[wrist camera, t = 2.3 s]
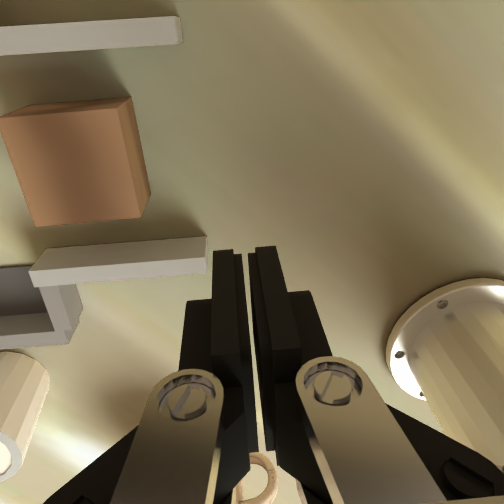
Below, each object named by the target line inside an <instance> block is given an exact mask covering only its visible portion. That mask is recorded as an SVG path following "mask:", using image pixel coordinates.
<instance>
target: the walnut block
mask: <svg viewBox="0 0 504 504" xmlns="http://www.w3.org/2000/svg"><path fill="white" fill-rule="evenodd" d="M0 131H1V134H2V136H3V139H4V142H5V145H6V148H7V150H8V153H9V156H10V159H11V161H12V164H13V167H14V170H15V172H16V175H17V178H18V181H19V183H20V186H21V189H22V192H23V195H24V197H25V200H26V203H27V206H28V208H29V211H30V214H31V217H32V219H33V222H34V225H35V227H40V226H52V225H63V224H74V223H85V222H96V221H107V220H118V219H130V218H141V216H142V214H143V211H144V209H145V207H146V204H147V202H148V200H149V197H150V195H151V191H150V186H149V181H148V176H147V171H146V166H145V161H144V156H143V151H142V147H141V142H140V137H139V132H138V127H137V122H136V117H135V112H134V107H133V102H132V97H123V98H111V99H99V100H87V101H75V102H63V103H51V104H39V105H28V106H25V107H23V108H20V109H18V110H15V111H13V112H10V113H8V114H5V115H3V116H0Z"/></svg>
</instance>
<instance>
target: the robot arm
mask: <svg viewBox="0 0 504 504" xmlns="http://www.w3.org/2000/svg"><path fill="white" fill-rule="evenodd" d="M248 263H249V277H250V292H251V307H252V321H253V335H254V346H255V355H256V364H257V373H258V381H259V390H260V399H261V408H262V417H263V426H264V435H265V444H266V451H274V450H275V452H276V459H277V466H280V467H281V468H282V469H283V470H285V471H286V472H287V473H289V474H290V475H291V476H293V477H294V478H295V479H296V484H297V490H298V493H299V496H300V499H301V502H302V504H504V281H502V280H499V279H490V278H476V279H467V280H462V281H458V282H454V283H451V284H448V285H446V286H443V287H441V288H438V289H436V290H434V291H433V292H431V293H429V294H427V295H426V296H424V297H422V298H421V299H420V300H418V301H417V302H416V303H414V304H413V305H412V306H411V307H410V308H409V309H408V310H407V311H406V312H405V313H404V314H403V315H402V316H401V317H400V318H399V320H398V321H397V323H396V324H395V326H394V327H393V329H392V331H391V334H390V336H389V338H388V341H387V346H386V362H387V365H388V368H389V371H390V373H391V375H392V377H393V379H394V380H395V382H396V383H397V384H398V386H399V387H400V388H401V389H402V390H404V391H405V392H407V393H408V394H410V395H411V396H414V397H416V398H418V399H422V400H426V401H427V402H428V404H429V406H430V408H431V410H432V412H433V413H434V415H435V417H436V419H437V421H438V422H439V424H440V426H441V428H442V430H443V432H444V433H445V435H444V434H442V433H440V432H438V431H437V430H435V429H433V428H431V427H429V426H427V425H425V424H423V423H421V422H420V421H418V420H416V419H414V418H412V417H410V416H408V415H406V414H405V413H403V412H401V411H399V410H397V409H395V408H393V407H391V406H389V405H388V404H386V403H385V402H384V401H383V399H382V397H381V396H380V394H379V393H378V391H377V390H376V388H375V386H374V385H373V383H372V382H371V380H370V378H369V377H368V375H367V374H366V373H365V372H364V371H363V370H362V368H361V367H359V366H358V365H356V364H355V363H353V362H352V361H349V360H346V359H344V358H340V357H333V356H332V353H331V350H330V347H329V344H328V341H327V338H326V335H325V333H324V330H323V327H322V324H321V321H320V318H319V315H318V312H317V309H316V306H315V303H314V301H313V298H312V295H311V292H310V291H309V290H308V291H296V292H287V288H286V284H285V280H284V276H283V272H282V269H281V265H280V261H279V257H278V253H277V249H276V246H266V247H255V253H248ZM254 452H259V449H258V436H257V422H256V408H255V395H254V381H253V368H252V355H251V344H250V334H249V324H248V314H247V304H246V294H245V284H244V274H243V264H242V254H234V253H233V249H230V250H218V251H213V271H212V299H203V300H192V301H187V303H186V310H185V319H184V327H183V336H182V345H181V353H180V362H179V371H177V372H174V373H172V374H170V375H168V376H167V377H165V378H163V379H162V380H161V381H160V382H159V383H158V384H157V385H156V386H155V387H154V389H153V391H152V392H151V394H150V396H149V399H148V402H147V404H146V407H145V410H144V412H143V415H142V418H141V421H140V423H139V425H138V426H137V427H136V428H134V429H133V430H132V431H131V432H129V433H128V434H127V435H126V436H124V437H123V438H122V439H121V440H120V441H118V442H117V443H116V444H115V445H113V446H112V447H111V448H110V449H108V450H107V451H106V452H105V453H103V454H102V455H101V456H100V457H98V458H97V459H96V460H95V461H94V462H92V463H91V464H90V465H89V466H87V467H86V468H85V469H84V470H82V471H81V472H80V473H79V474H77V475H76V476H75V477H74V478H72V479H71V480H70V481H69V482H68V483H66V484H65V485H64V486H63V487H61V488H60V489H59V490H58V491H56V492H55V493H54V494H53V495H51V496H50V497H49V498H48V499H47V500H46V501H45V502H44V503H43V504H235V501H236V485H237V484H238V483H239V482H240V481H241V479H242V478H243V477H244V476H245V475H246V474H247V473H248V472H249V470H250V456H249V453H254Z"/></svg>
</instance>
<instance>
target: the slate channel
mask: <svg viewBox="0 0 504 504" xmlns="http://www.w3.org/2000/svg"><path fill="white" fill-rule="evenodd" d="M182 42H183V38H182V30H181V22H180V17H177V16H166V17H149V18H133V19H117V20H101V21H85V22H69V23H53V24H36V25H20V26H4V27H0V56H2V55H18V54H33V53H49V52H64V51H80V50H96V49H111V48H127V47H142V46H158V45H174V44H180V43H182ZM207 266H208V244H207V236H201V237H188V238H175V239H163V240H150V241H137V242H124V243H111V244H99V245H86V246H73V247H60V248H47V249H46V250H45V251H44V252H43V253H42V255H41V256H40V257H39V258H38V260H37V261H36V262H35V263H34V265H33V266H32V267H31V268H30V270H29V271H28V272H29V275H30V278H31V280H32V283H33V286H34V287H45V286H58V285H70V284H83V283H95V282H107V281H120V280H132V279H145V278H157V277H169V276H182V275H194V274H206V273H207Z"/></svg>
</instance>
